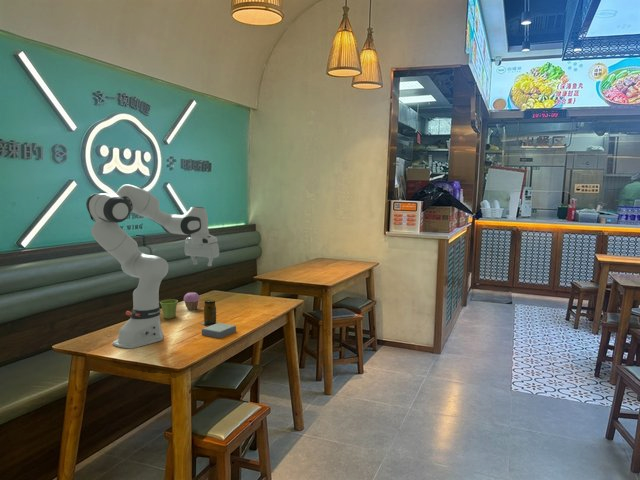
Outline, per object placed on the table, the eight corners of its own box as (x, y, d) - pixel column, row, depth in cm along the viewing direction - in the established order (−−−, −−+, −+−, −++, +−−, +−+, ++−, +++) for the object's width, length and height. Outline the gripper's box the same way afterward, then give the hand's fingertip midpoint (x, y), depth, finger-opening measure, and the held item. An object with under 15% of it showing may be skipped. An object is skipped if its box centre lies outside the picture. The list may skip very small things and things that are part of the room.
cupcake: (202, 308, 268) (202, 291, 267) (191, 312, 261) (190, 294, 260) (192, 306, 273) (191, 290, 272) (180, 309, 266) (180, 292, 265)
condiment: (213, 320, 244) (213, 298, 243) (221, 324, 238) (220, 301, 236) (200, 323, 239) (199, 300, 238) (207, 327, 233) (207, 303, 232)
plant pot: (157, 319, 246) (157, 303, 245) (163, 314, 255) (162, 299, 254) (175, 319, 246) (175, 303, 245) (180, 314, 256) (180, 299, 255)
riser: (219, 338, 215) (219, 332, 215) (201, 334, 220) (201, 328, 220) (236, 331, 226) (236, 325, 226) (218, 328, 231) (218, 322, 231)
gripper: (180, 238, 236) (182, 264, 239) (211, 240, 227) (213, 268, 229) (189, 236, 242) (191, 262, 244) (220, 238, 232) (222, 265, 235)
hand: (202, 265), depth 237 cm, fingers open, 8 cm apart
